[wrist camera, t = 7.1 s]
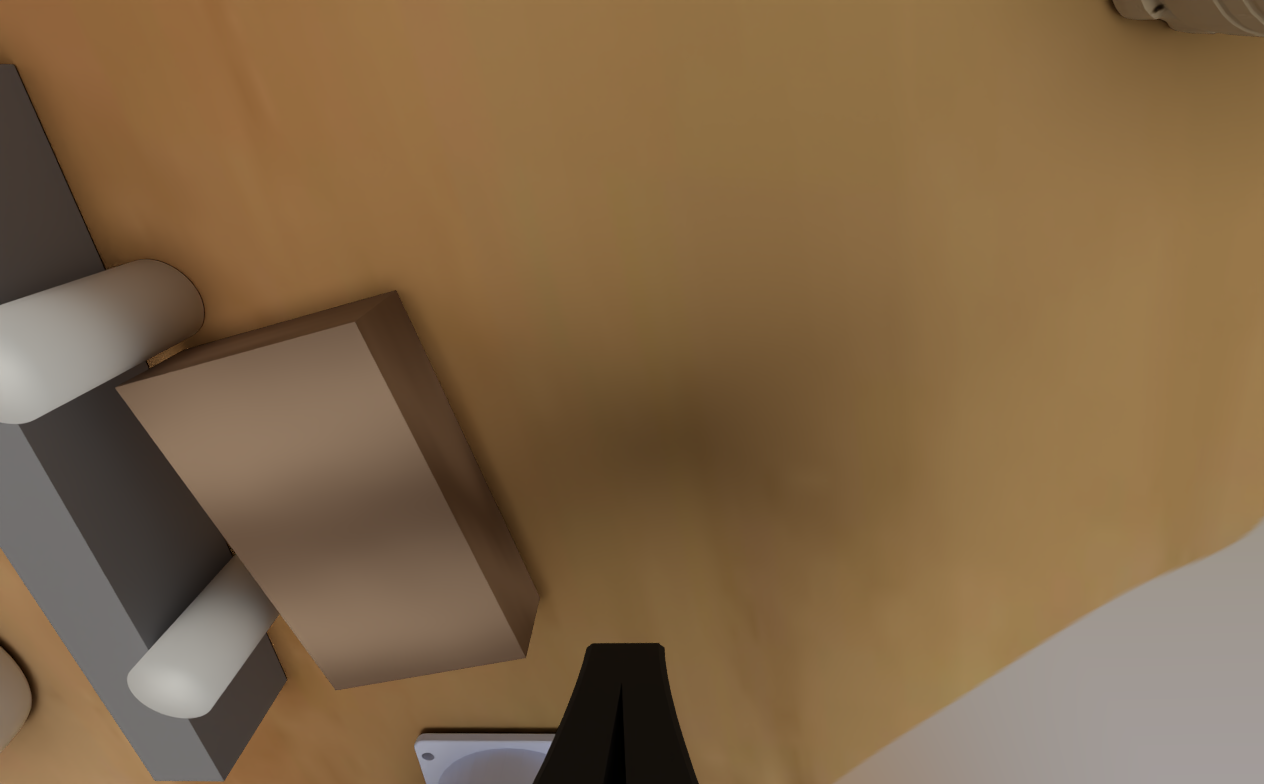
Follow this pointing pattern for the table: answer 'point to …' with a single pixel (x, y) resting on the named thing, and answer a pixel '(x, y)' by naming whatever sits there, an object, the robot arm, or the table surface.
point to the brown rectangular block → (346, 491)
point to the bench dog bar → (114, 481)
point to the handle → (1200, 15)
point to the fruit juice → (12, 699)
